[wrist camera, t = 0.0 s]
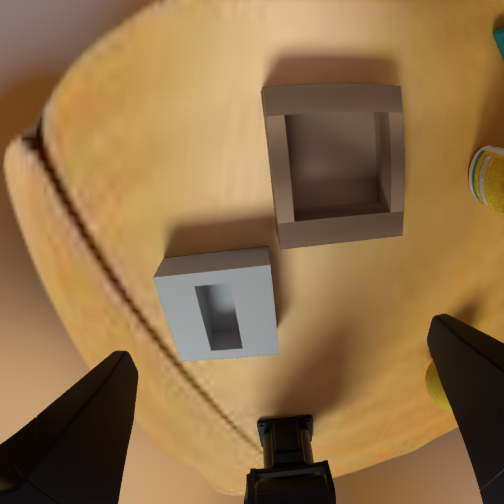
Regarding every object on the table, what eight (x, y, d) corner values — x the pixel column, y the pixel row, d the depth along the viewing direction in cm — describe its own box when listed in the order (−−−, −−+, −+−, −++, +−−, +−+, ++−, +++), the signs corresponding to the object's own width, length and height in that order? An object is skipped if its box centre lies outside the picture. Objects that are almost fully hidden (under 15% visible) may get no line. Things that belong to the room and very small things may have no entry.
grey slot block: (276, 330, 26) (279, 354, 23) (186, 338, 26) (181, 361, 24) (267, 246, 23) (270, 264, 20) (163, 258, 23) (153, 277, 20)
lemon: (445, 330, 27) (480, 381, 20) (461, 349, 29) (491, 396, 21) (407, 363, 29) (434, 418, 21) (426, 379, 30) (451, 428, 23)
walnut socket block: (385, 220, 22) (402, 235, 19) (276, 232, 22) (280, 249, 20) (381, 88, 18) (400, 86, 15) (260, 91, 18) (262, 87, 15)
